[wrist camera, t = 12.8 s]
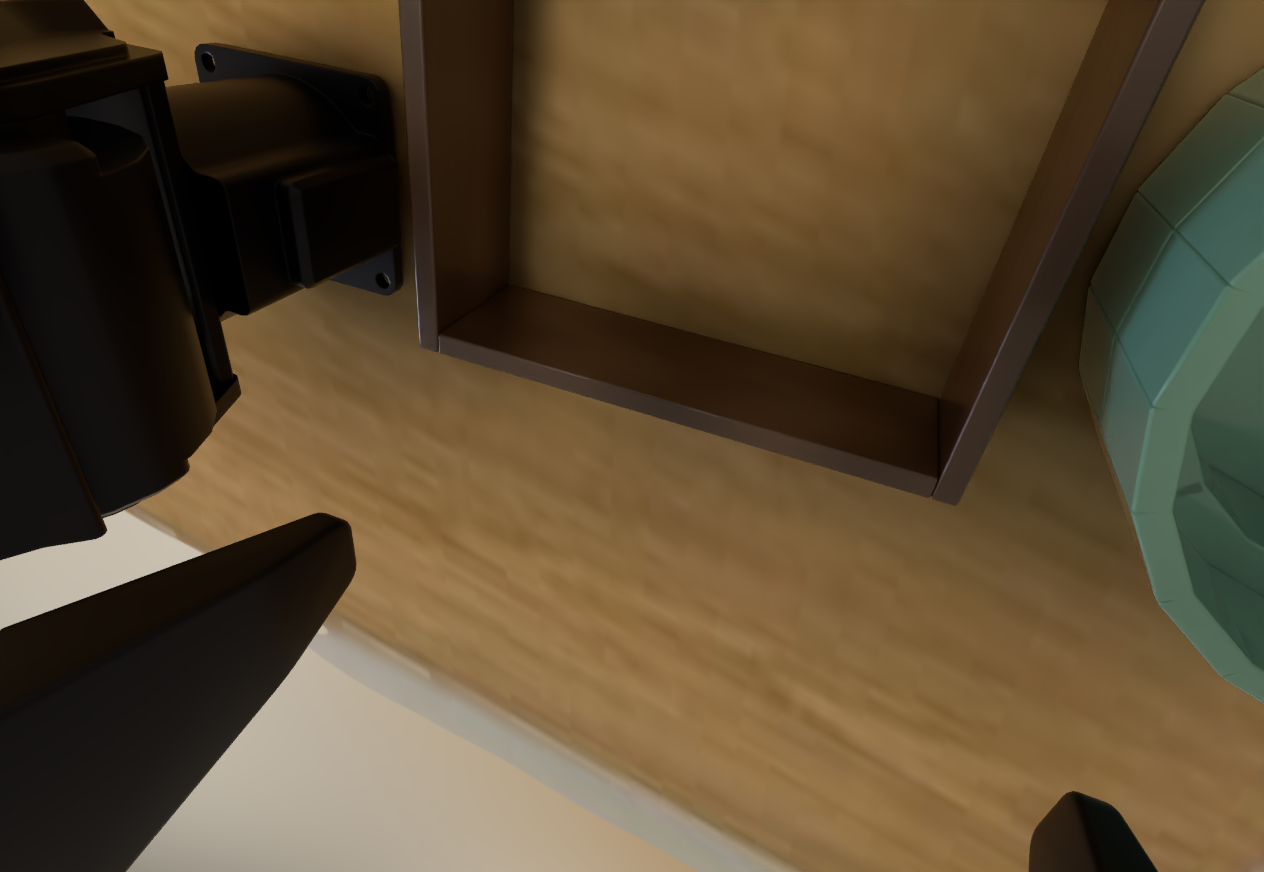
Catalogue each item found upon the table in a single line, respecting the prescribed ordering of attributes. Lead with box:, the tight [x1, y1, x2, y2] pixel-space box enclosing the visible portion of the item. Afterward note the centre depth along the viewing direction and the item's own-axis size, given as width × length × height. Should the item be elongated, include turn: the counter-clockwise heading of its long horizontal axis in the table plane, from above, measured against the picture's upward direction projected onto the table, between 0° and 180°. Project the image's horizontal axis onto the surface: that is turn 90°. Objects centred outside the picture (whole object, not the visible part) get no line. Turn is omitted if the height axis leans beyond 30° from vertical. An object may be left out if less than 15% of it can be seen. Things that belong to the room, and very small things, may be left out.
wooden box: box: [398, 0, 1205, 506], centre depth 16 cm, size 14×11×4 cm
